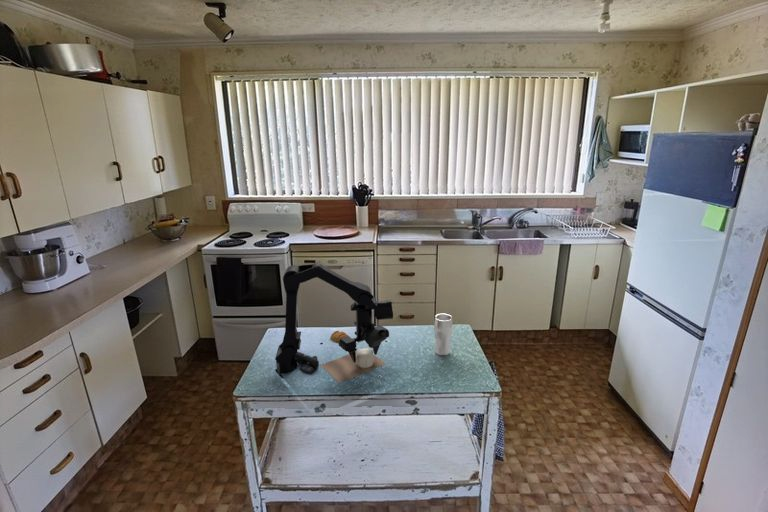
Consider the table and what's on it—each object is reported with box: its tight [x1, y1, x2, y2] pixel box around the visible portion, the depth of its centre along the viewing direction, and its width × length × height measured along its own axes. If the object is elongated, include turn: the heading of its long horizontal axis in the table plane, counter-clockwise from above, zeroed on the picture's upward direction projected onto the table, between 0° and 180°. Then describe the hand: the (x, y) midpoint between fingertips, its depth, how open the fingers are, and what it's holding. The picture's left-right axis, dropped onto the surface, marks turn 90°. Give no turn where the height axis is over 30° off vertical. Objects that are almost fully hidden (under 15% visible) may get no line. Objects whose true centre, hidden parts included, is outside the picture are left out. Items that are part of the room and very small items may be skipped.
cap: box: [356, 347, 374, 368], centre depth 144 cm, size 6×6×4 cm
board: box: [320, 350, 387, 384], centre depth 145 cm, size 20×14×1 cm
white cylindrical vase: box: [433, 313, 453, 357], centre depth 152 cm, size 7×7×15 cm
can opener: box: [295, 351, 320, 375], centre depth 146 cm, size 18×7×6 cm, turn 48°
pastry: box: [329, 330, 349, 344], centre depth 162 cm, size 9×7×4 cm
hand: (365, 358), depth 144 cm, fingers open, 9 cm apart
